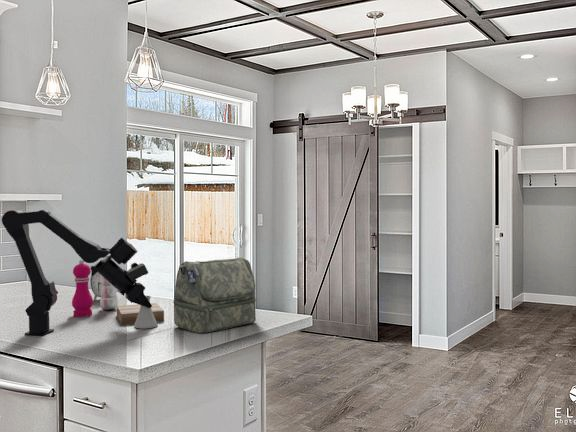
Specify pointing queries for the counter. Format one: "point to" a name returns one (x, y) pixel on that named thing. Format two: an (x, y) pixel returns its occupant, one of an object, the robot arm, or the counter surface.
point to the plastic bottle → (108, 294)
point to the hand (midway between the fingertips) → (150, 306)
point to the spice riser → (130, 313)
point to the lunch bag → (214, 295)
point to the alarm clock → (96, 285)
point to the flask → (145, 317)
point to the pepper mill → (82, 291)
